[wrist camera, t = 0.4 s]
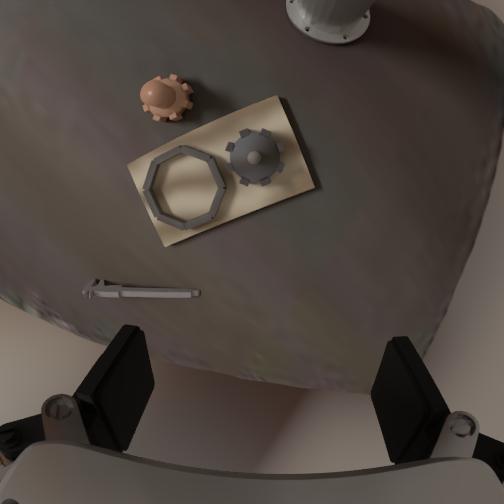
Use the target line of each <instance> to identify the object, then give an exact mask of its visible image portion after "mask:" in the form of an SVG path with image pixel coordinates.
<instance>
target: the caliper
mask: <svg viewBox="0 0 504 504" xmlns="http://www.w3.org/2000/svg"><path fill="white" fill-rule="evenodd" d="M95 285H96V279H92V280H91V281H90V282H89V283H88V284H87V285H85V287H84V289H83V296H84V299H86V298H88V297H89V296H90V299H92V297H93V296H94V295H95V296H96V297H120V296H128V297H173V298H191V296H199V295H200V294H199V290H191V289H184V288H131V287H122V285H109V286H105V284H104V280H102V279H101V281H100V282H99V284H98V286H97V287H96V286H95Z"/></svg>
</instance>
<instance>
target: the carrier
mask: <svg viewBox="0 0 504 504" xmlns="http://www.w3.org/2000/svg"><path fill="white" fill-rule="evenodd" d="M127 166H128V169H129V171H130V173H131V175H132V178H133V180H134V182H135V185H136V187H137V189H138V191H139V193H140V196H141V198H142V200H143V202H144V204H145V207H146V209H147V211H148V213H149V215H150V217H151V219H152V222H153V224H154V226H155V228H156V230H157V232H158V234H159V236H160V238H161V240H162V242H163V244H164V246H165V247H166V246H169V245H171V244H174V243H176V242H178V241H181V240H183V239H185V238H188V237H190V236H193V235H195V234H198V233H200V232H202V231H205V230H207V229H210V228H212V227H215V226H217V225H220V224H222V223H225V222H227V221H230V220H232V219H235V218H237V217H240V216H242V215H245V214H247V213H250V212H252V211H255V210H257V209H260V208H263V207H265V206H268V205H270V204H273V203H276V202H278V201H281V200H283V199H286V198H289V197H291V196H294V195H297V194H299V193H302V192H305V191H307V190H310V189H313V188H315V187H314V184H313V181H312V179H311V176H310V173H309V171H308V168H307V166H306V163H305V160H304V158H303V155H302V153H301V150H300V148H299V145H298V143H297V141H296V138H295V136H294V133H293V131H292V128H291V126H290V124H289V121H288V119H287V117H286V114H285V112H284V110H283V107H282V105H281V103H280V101H279V98H278V96H277V95H276V96H274V97H271V98H268V99H266V100H263V101H260V102H258V103H255V104H253V105H250V106H248V107H245V108H243V109H240V110H238V111H235V112H233V113H231V114H228V115H226V116H224V117H221V118H219V119H217V120H215V121H212V122H210V123H208V124H206V125H204V126H201V127H199V128H197V129H195V130H193V131H191V132H189V133H187V134H185V135H183V136H181V137H179V138H177V139H175V140H173V141H171V142H169V143H167V144H165V145H163V146H161V147H159V148H157V149H155V150H153V151H151V152H150V153H148V154H146V155H144V156H142V157H140V158H139V159H137V160H135V161H133V162H132V163H130V164H128V165H127Z"/></svg>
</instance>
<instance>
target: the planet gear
mask: <svg viewBox="0 0 504 504" xmlns="http://www.w3.org/2000/svg"><path fill="white" fill-rule="evenodd" d="M182 82H183V79H181V78H180V77H178V76H176V75H172V74H171V75H170V77H169V79H168V78H167V79H164V78H163V77H161V76H158V77H156V78H154V79H153V80H151V81H148V82H147V83H146V84H145V85H144V86H143V87H142V89H141V93H140V96H141V99H142V101H143V102H144V103H145V105H143V109H144V111H145V112H148V113H152V114H154V117H153V119H154V120H157V121H161V122H166V121H167V118H170V120H173V121H179V120H181V119H183V117H182V115H181V114H182V113H183V112H184V111H185V110H186V109H190V110H191V108H192V106H193V104H194V103H192V102H190V96H189V94H191V93H194V92H193V90H192V88H191V86H189V85H188V84H186V83H184V84H182Z"/></svg>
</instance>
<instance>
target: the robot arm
mask: <svg viewBox="0 0 504 504" xmlns="http://www.w3.org/2000/svg"><path fill="white" fill-rule="evenodd" d="M375 1H376V0H286V11H287V14H288V17H289V19H290V21H291V22H292V24H293V25H294V26H295V27H296V28H297V29H298V30H299V31H300V32H301V33H303V34H304V35H306V36H307V37H309V38H311V39H313V40H316V41H319V42H322V43H326V44H345V43H349V42H352V41H355V40H356V39H358V38H359V37H361V36H362V35H363V34H364V32H365V31H366V30H367V28H368V26H369V23H370V11H369V8H370V7H371V6H372V4H373V3H374V2H375ZM290 2H293V3H290ZM363 17H364V18H363ZM306 30H308V31H309V32H307V31H306ZM344 38H346V40H345V39H344ZM154 384H155V383H154V377H153V372H152V368H151V364H150V359H149V354H148V350H147V345H146V340H145V334H144V332H143V331H142V330H140V328H139V327H138V326H133V325H124V326H123V327H122V328H121V329H120V331H119V332H118V333H117V335H116V336H115V337H114V339H113V340H112V342H111V343H110V344H109V346H108V347H107V348H106V350H105V351H104V353H103V354H102V355H101V356H100V357H99V359H98V360H97V361H96V363H95V364H94V366H93V367H92V368H91V370H90V371H89V373H88V375H87V376H86V377H85V378H84V380H83V381H82V383H81V384H80V386H79V387H78V389H77V390H76V392H75V393H74V394H73V396H72V397H71V396H69V395H65V394H58V395H54V396H51V397H50V398H48V399H47V400H46V401H45V402H44V403H43V405H42V408H41V414H38V415H35V416H31V417H28V418H24V419H21V420H17V421H13V422H10V423H6V424H4V425H2V426H0V504H504V443H503V442H500V441H498V440H495V439H493V438H491V437H488V436H486V435H483V434H481V433H479V424H478V421H477V420H476V418H475V417H474V416H472V415H471V414H469V413H467V412H463V411H455V412H453V413H451V412H450V410H449V408H448V406H447V404H446V403H445V400H444V399H443V397H442V395H441V393H440V391H439V389H438V388H437V386H436V384H435V382H434V380H433V379H432V377H431V375H430V373H429V372H428V370H427V368H426V366H425V365H424V363H423V361H422V359H421V358H420V356H419V354H418V353H417V351H416V349H415V348H414V346H413V344H412V343H411V341H410V339H409V338H408V337H407V336H401V337H393V338H392V340H391V341H388V343H387V345H386V349H385V352H384V355H383V358H382V361H381V364H380V367H379V370H378V373H377V376H376V379H375V382H374V384H373V387H372V390H371V399H372V402H373V405H374V408H375V411H376V414H377V418H378V421H379V424H380V427H381V431H382V434H383V437H384V441H385V444H386V448H387V451H388V455H389V458H390V461H391V462H392V463H393V462H394V463H395V465H390V466H384V467H377V468H369V469H362V470H353V471H344V472H331V473H312V474H258V473H242V472H229V471H219V470H210V469H202V468H195V467H188V466H182V465H176V464H171V463H166V462H160V461H156V460H151V459H146V458H142V457H137V456H133V455H129V454H125V453H122V452H123V450H124V451H126V450H127V449H128V447H129V444H130V442H131V440H132V438H133V435H134V433H135V431H136V428H137V426H138V423H139V421H140V419H141V416H142V414H143V412H144V410H145V407H146V405H147V403H148V400H149V398H150V396H151V394H152V391H153V389H154Z"/></svg>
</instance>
